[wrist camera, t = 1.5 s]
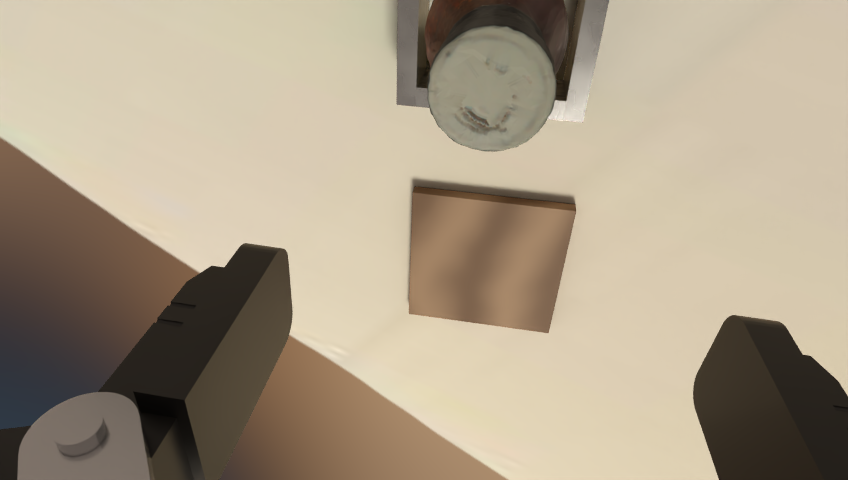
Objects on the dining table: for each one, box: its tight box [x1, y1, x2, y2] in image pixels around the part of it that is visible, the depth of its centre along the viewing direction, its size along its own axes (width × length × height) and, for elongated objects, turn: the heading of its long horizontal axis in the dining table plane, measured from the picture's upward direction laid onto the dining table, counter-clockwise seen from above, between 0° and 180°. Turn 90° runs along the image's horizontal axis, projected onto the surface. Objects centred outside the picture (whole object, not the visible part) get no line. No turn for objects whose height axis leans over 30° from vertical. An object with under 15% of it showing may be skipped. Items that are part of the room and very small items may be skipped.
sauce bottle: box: [425, 0, 568, 151], centre depth 25 cm, size 7×6×20 cm
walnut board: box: [409, 187, 576, 333], centre depth 44 cm, size 12×12×1 cm
